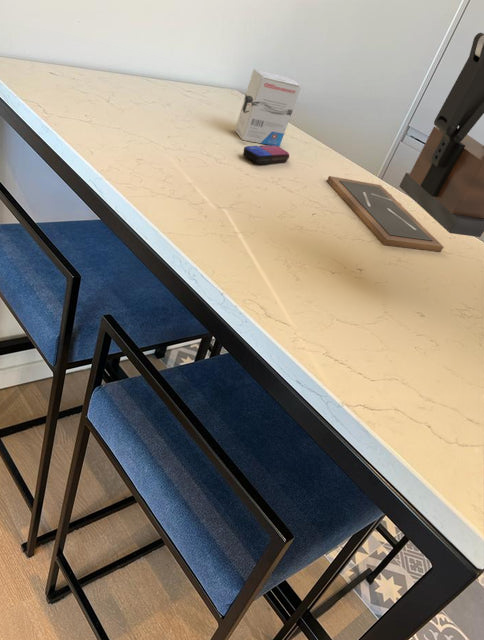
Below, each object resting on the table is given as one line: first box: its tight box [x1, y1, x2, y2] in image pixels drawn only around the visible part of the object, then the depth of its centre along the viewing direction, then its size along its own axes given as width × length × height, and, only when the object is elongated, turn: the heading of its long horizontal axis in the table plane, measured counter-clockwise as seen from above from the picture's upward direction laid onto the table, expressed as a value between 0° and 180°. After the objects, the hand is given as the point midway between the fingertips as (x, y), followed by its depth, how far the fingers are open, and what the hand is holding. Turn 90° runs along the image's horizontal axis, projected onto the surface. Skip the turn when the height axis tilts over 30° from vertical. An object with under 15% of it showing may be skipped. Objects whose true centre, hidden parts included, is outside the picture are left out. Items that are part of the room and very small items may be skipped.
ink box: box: [234, 68, 302, 147], centre depth 109 cm, size 8×5×12 cm, turn 108°
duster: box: [398, 126, 484, 238], centre depth 71 cm, size 12×5×8 cm, turn 17°
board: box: [326, 175, 445, 253], centre depth 101 cm, size 22×12×1 cm, turn 17°
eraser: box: [242, 144, 290, 165], centre depth 104 cm, size 11×4×2 cm, turn 136°
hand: (447, 194), depth 72 cm, fingers closed on duster, 5 cm apart
